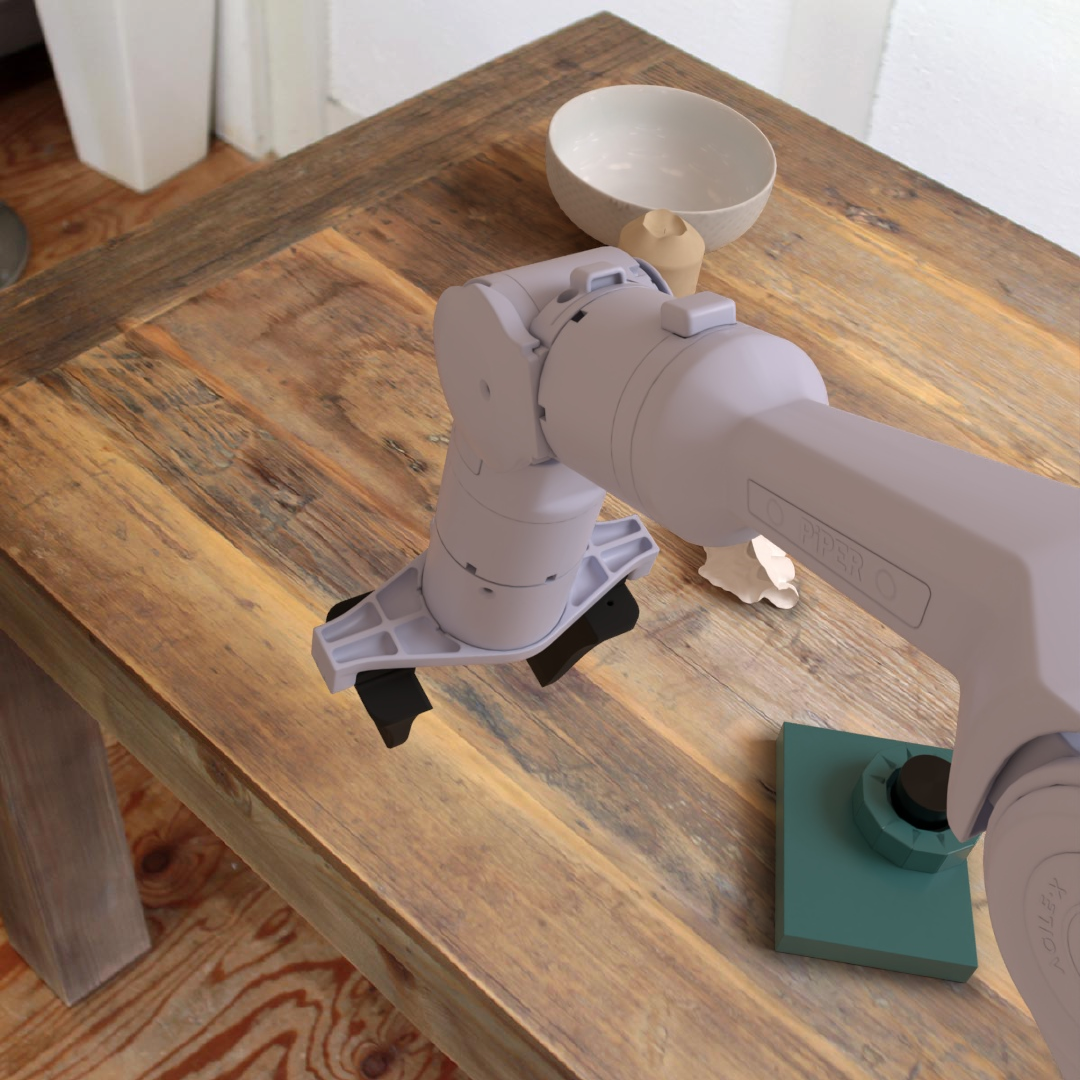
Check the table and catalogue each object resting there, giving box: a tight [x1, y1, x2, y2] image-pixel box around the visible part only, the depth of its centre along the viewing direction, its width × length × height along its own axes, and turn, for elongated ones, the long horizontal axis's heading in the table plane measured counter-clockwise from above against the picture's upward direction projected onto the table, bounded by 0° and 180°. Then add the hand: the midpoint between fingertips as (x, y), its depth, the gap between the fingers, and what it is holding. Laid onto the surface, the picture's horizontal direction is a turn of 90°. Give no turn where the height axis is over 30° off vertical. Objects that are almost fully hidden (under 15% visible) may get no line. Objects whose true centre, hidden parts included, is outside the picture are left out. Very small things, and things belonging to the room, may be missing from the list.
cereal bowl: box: [544, 84, 778, 255], centre depth 99 cm, size 17×17×7 cm
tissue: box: [697, 535, 800, 610], centre depth 77 cm, size 6×8×4 cm
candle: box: [618, 209, 705, 298], centre depth 88 cm, size 6×6×10 cm
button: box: [890, 754, 951, 830], centre depth 64 cm, size 3×3×2 cm
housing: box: [774, 721, 983, 984], centre depth 65 cm, size 12×10×4 cm
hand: (463, 696), depth 60 cm, fingers open, 7 cm apart
